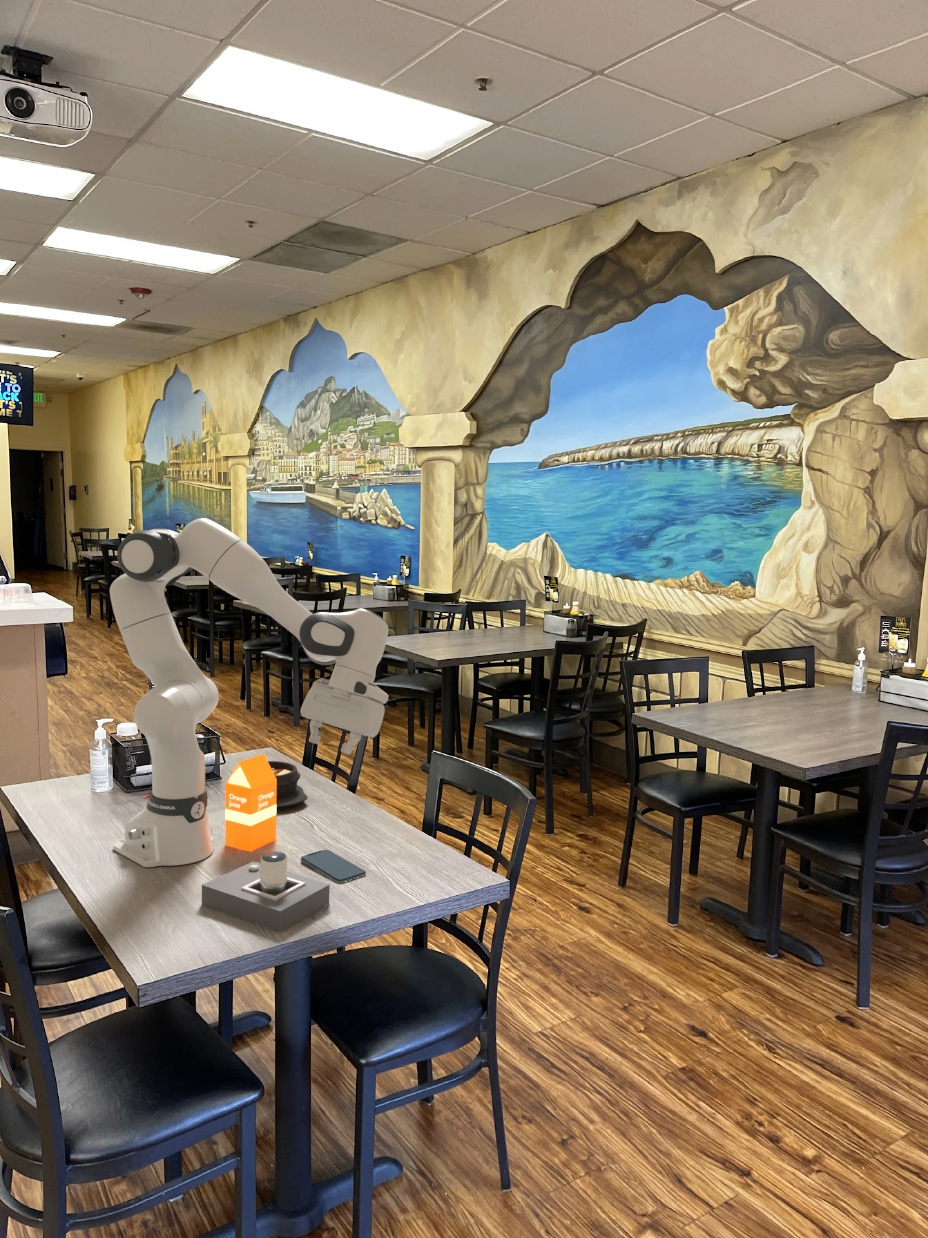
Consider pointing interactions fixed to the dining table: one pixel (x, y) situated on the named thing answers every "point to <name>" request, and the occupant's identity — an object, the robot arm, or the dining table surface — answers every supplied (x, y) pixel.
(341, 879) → the smartphone
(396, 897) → the dining table surface
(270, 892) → the lens
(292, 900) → the grey socket base
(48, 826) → the dining table surface
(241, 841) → the orange juice
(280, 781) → the casserole
